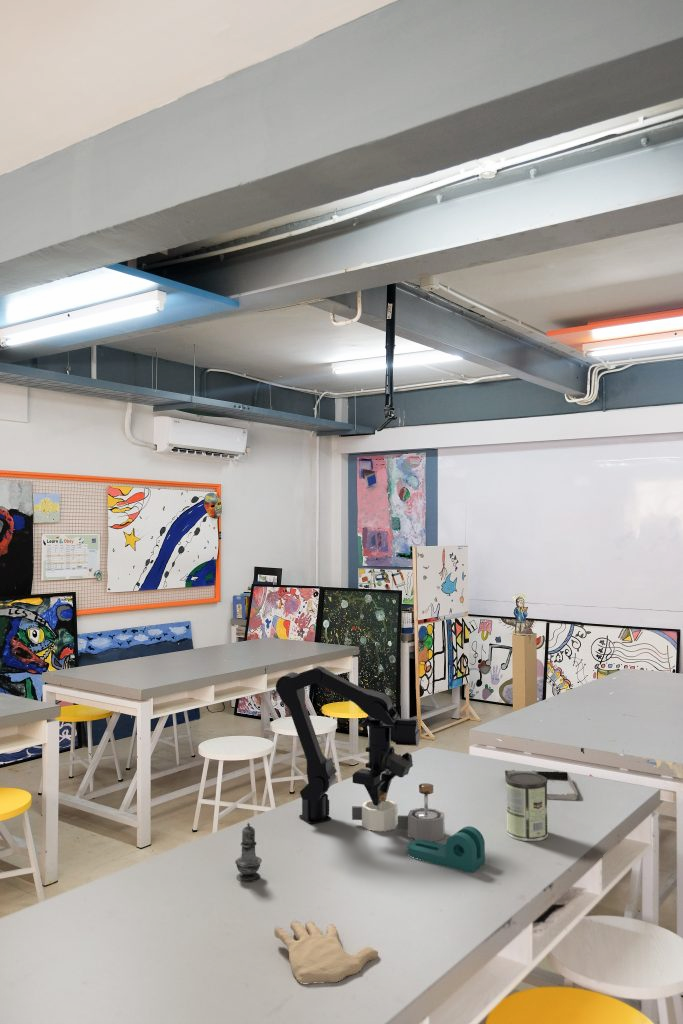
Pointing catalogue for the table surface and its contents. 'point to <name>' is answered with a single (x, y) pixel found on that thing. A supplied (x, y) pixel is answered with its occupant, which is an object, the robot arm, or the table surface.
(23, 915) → the table surface
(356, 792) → the table surface
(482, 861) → the bracket
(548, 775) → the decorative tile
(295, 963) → the hand model
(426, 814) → the coffee tamper
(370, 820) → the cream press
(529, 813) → the coffee can
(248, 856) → the salt shaker
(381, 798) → the brown and grey doorknob
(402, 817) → the grey octagonal hollow piece
